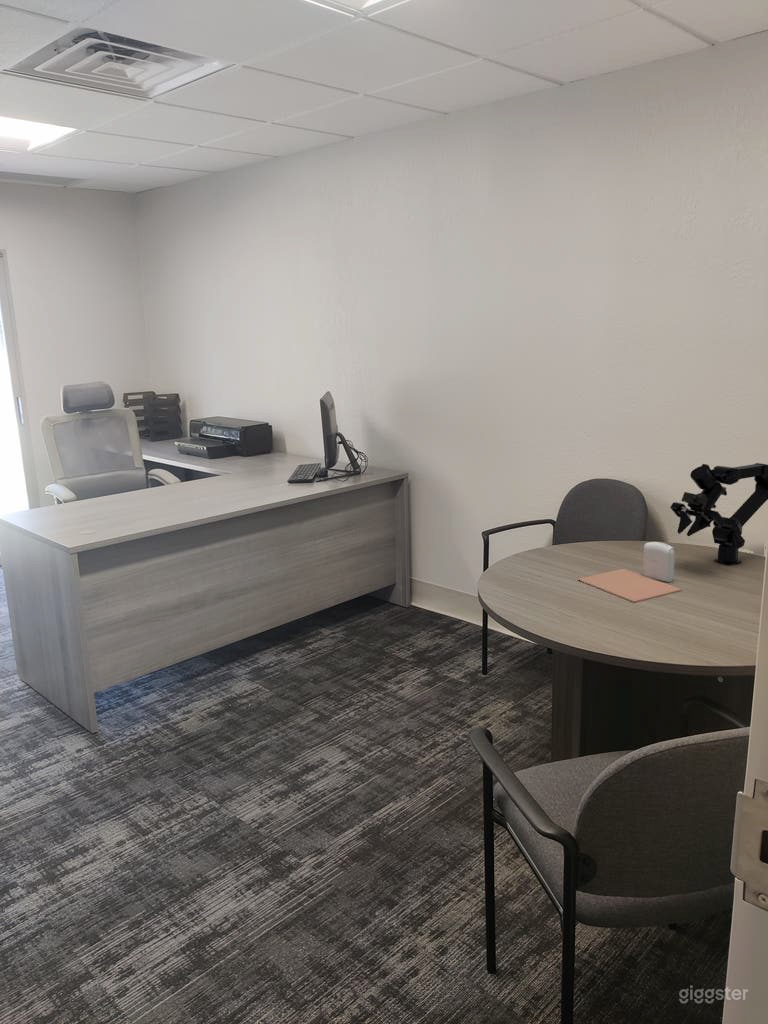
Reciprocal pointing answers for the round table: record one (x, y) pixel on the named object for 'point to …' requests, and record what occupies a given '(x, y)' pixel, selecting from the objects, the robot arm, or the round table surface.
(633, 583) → the mat
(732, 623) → the round table surface
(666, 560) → the photo printer
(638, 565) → the round table surface
